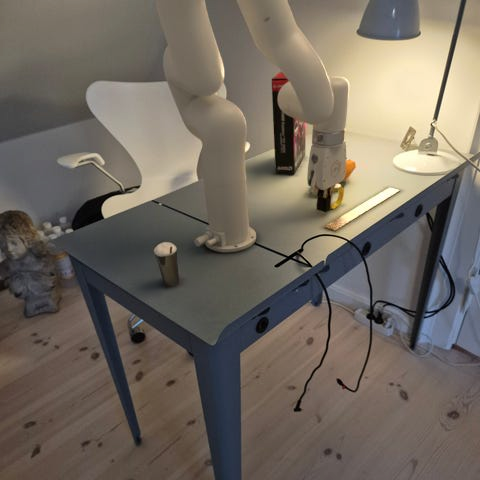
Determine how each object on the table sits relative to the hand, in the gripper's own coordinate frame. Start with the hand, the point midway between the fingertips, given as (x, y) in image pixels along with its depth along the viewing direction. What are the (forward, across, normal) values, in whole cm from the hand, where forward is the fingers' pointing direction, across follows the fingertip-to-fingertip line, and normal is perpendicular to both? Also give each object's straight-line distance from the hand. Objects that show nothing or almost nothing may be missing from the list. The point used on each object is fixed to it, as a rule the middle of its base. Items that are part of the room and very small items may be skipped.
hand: (323, 210), depth 117 cm
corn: (+1, +17, +9) cm, 19 cm away
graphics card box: (+1, +22, +30) cm, 37 cm away
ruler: (+1, +9, -7) cm, 11 cm away
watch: (+1, +5, 0) cm, 5 cm away
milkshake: (+2, -46, +4) cm, 46 cm away
